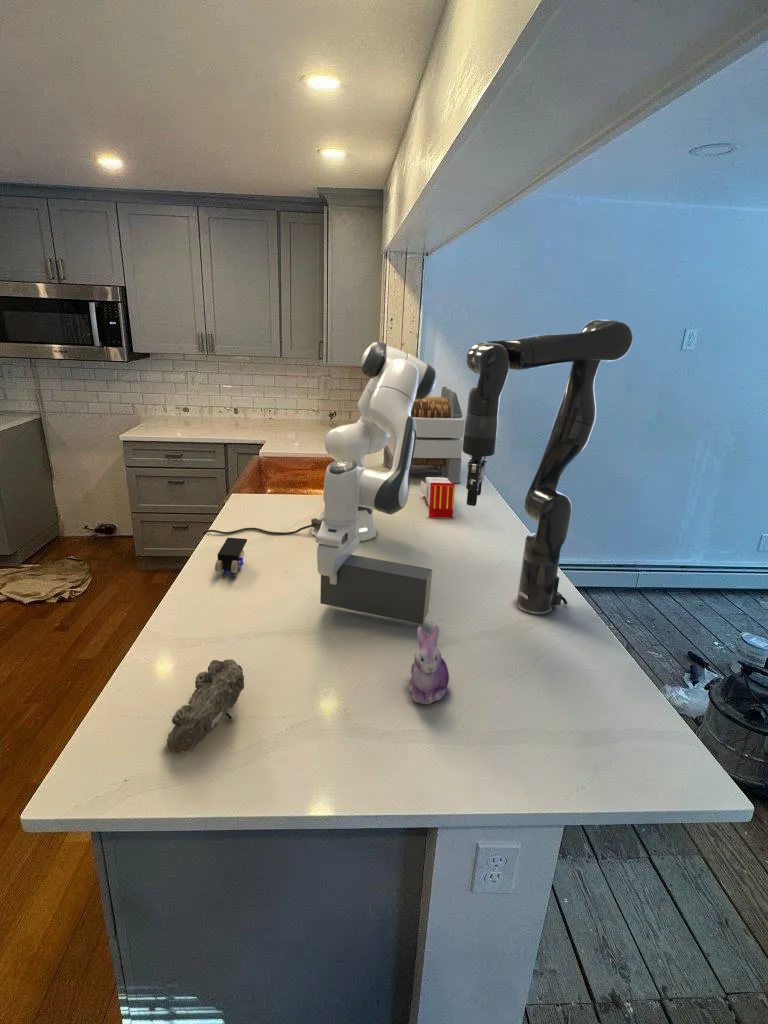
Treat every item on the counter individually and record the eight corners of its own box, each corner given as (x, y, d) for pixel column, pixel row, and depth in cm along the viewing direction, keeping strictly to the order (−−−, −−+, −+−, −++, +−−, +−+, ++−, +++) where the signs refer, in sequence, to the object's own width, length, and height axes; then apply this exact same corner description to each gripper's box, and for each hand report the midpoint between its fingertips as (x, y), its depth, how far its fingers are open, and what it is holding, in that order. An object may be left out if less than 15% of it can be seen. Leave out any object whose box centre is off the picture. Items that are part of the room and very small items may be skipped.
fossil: (192, 660, 117) (244, 628, 112) (224, 691, 120) (276, 661, 115) (142, 746, 98) (202, 712, 93) (182, 779, 101) (242, 748, 96)
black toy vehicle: (238, 584, 162) (249, 557, 175) (236, 562, 158) (247, 536, 172) (215, 584, 161) (227, 556, 175) (212, 561, 158) (225, 535, 171)
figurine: (421, 712, 112) (426, 647, 106) (396, 683, 120) (400, 621, 115) (461, 699, 116) (467, 636, 111) (434, 672, 124) (439, 611, 119)
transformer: (382, 463, 289) (386, 382, 275) (445, 464, 293) (451, 384, 279) (390, 482, 257) (394, 392, 243) (460, 483, 261) (468, 394, 247)
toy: (448, 473, 241) (459, 484, 212) (446, 504, 244) (457, 519, 215) (419, 472, 241) (426, 483, 211) (418, 503, 243) (425, 518, 214)
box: (320, 603, 145) (320, 560, 141) (329, 592, 151) (330, 550, 146) (422, 624, 138) (426, 579, 134) (428, 612, 144) (432, 569, 139)
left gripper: (343, 510, 150) (342, 558, 154) (312, 539, 131) (312, 592, 136) (366, 514, 148) (364, 562, 153) (338, 543, 130) (336, 597, 134)
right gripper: (493, 441, 123) (486, 511, 129) (499, 429, 136) (492, 493, 142) (459, 437, 125) (453, 506, 130) (468, 426, 138) (462, 489, 143)
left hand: (339, 576), depth 144 cm, fingers closed on box, 6 cm apart
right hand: (473, 499), depth 136 cm, fingers open, 8 cm apart
